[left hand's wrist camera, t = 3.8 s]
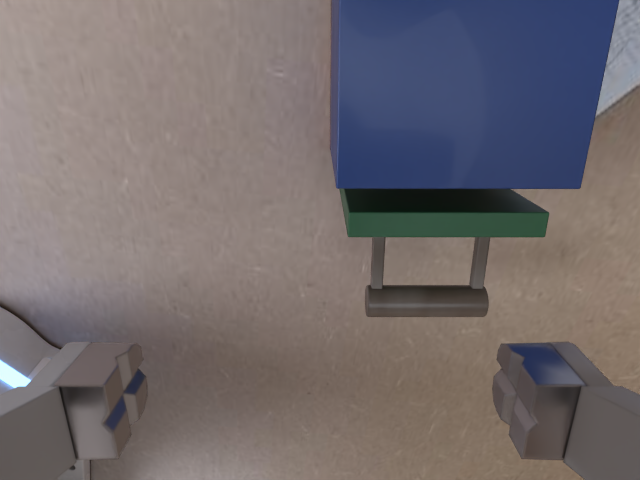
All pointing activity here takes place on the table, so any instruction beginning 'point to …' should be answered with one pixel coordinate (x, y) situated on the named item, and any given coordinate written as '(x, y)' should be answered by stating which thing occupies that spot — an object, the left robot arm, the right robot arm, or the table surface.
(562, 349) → the left robot arm
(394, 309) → the drawer
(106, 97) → the table surface
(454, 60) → the cabinet
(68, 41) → the table surface
